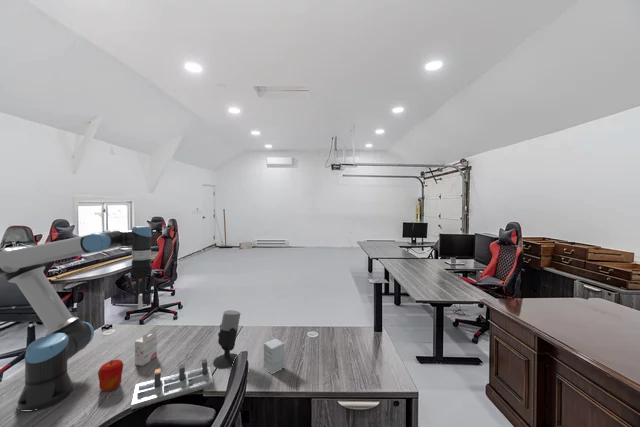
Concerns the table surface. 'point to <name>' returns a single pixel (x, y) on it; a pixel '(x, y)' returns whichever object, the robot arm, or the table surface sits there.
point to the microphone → (227, 339)
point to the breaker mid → (181, 372)
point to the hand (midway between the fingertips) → (140, 308)
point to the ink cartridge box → (146, 348)
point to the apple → (110, 375)
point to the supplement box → (274, 355)
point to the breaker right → (204, 367)
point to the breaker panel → (170, 387)
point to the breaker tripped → (157, 378)
